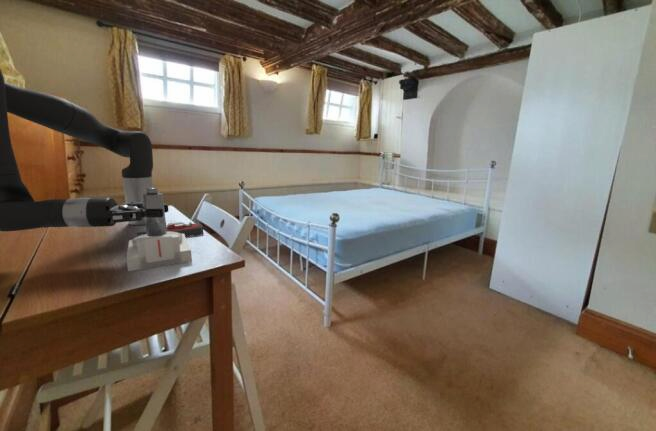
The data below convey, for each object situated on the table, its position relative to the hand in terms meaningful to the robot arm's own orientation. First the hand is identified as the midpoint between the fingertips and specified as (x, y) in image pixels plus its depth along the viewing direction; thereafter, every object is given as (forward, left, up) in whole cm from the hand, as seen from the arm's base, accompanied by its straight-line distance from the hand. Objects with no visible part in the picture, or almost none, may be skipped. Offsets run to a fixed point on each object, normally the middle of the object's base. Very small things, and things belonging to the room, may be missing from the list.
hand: (165, 210), depth 80 cm
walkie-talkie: (-17, +2, -13) cm, 21 cm away
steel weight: (-1, -3, -6) cm, 7 cm away
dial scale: (+1, -2, -12) cm, 12 cm away
